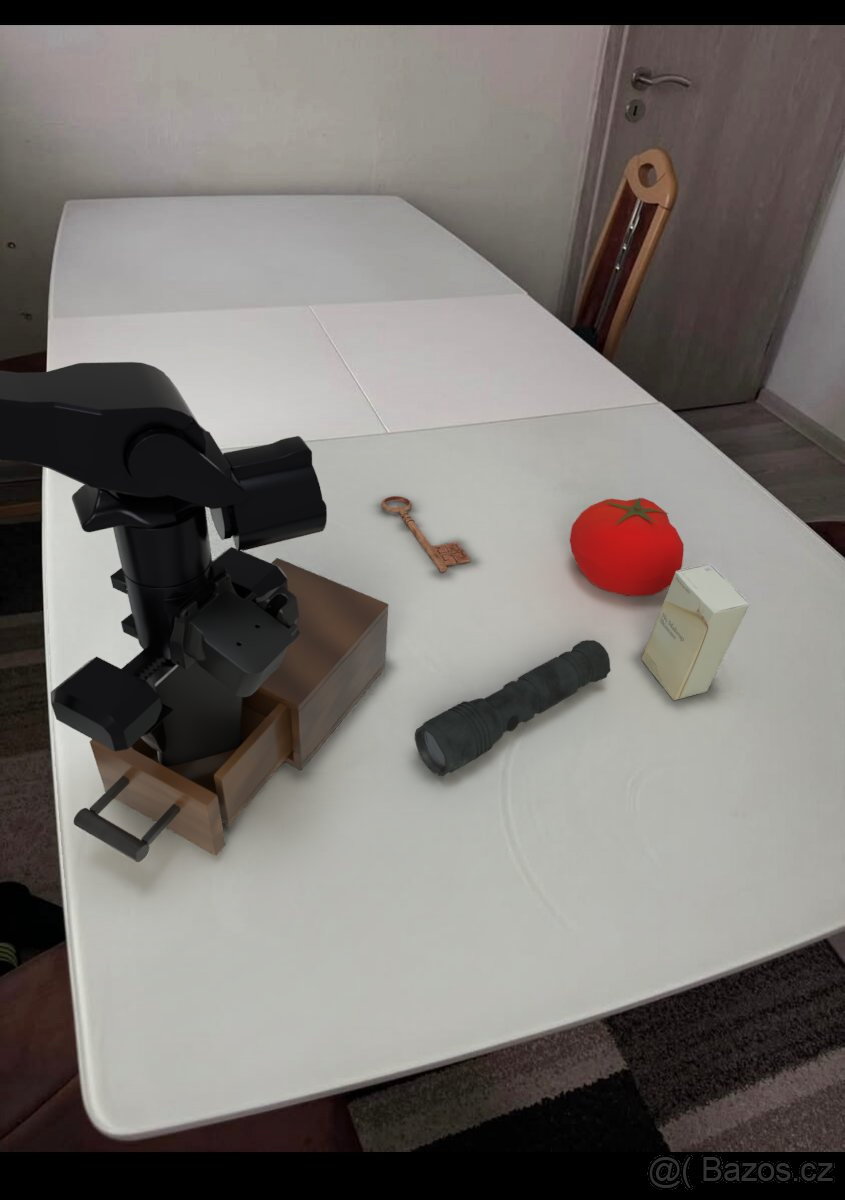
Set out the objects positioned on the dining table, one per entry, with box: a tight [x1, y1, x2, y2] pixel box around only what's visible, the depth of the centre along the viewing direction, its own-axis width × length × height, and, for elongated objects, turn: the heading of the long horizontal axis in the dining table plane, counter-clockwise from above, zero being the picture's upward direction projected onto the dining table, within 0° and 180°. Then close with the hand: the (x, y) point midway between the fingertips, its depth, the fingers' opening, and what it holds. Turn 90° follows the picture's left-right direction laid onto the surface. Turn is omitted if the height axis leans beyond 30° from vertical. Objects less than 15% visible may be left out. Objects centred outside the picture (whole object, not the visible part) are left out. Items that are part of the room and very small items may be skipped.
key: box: [380, 495, 472, 573], centre depth 98 cm, size 6×1×15 cm
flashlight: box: [414, 639, 611, 777], centre depth 75 cm, size 5×21×5 cm, turn 127°
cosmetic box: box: [641, 562, 751, 701], centre depth 79 cm, size 6×4×12 cm
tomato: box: [569, 497, 685, 597], centre depth 91 cm, size 11×13×10 cm
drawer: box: [73, 691, 293, 863], centre depth 66 cm, size 18×11×7 cm, turn 152°
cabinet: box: [256, 557, 389, 771], centre depth 75 cm, size 15×13×9 cm
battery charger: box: [155, 660, 243, 767], centre depth 63 cm, size 7×4×11 cm, turn 115°
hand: (193, 715), depth 64 cm, fingers closed on battery charger, 7 cm apart
